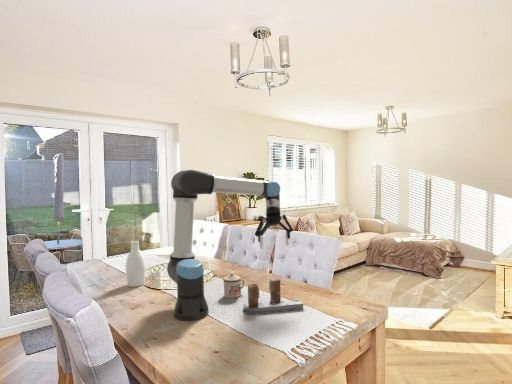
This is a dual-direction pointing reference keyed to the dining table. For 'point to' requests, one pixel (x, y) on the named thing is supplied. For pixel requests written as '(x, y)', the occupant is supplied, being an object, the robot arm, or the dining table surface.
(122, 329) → the dining table surface
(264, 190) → the robot arm
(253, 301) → the post
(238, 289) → the teacup with lid
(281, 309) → the rail
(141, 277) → the bottle
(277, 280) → the brown wooden upright block
